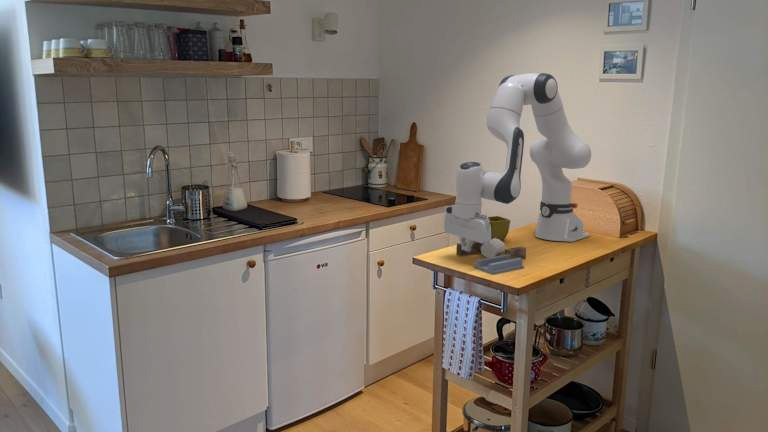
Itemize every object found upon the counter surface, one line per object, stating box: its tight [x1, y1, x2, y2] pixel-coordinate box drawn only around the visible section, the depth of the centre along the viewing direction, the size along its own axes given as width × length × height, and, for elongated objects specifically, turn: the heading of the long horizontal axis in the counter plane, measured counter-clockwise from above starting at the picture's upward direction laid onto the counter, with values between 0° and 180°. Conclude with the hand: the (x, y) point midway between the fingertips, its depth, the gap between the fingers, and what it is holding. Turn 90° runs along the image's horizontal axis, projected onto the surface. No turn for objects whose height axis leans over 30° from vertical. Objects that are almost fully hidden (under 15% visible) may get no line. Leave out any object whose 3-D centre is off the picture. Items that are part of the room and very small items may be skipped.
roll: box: [480, 238, 506, 258], centre depth 220 cm, size 6×12×6 cm, turn 148°
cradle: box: [474, 254, 525, 276], centre depth 202 cm, size 14×8×3 cm, turn 124°
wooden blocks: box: [455, 239, 527, 261], centre depth 216 cm, size 17×17×4 cm
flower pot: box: [487, 215, 511, 243], centre depth 238 cm, size 9×9×9 cm
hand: (466, 250), depth 209 cm, fingers closed
